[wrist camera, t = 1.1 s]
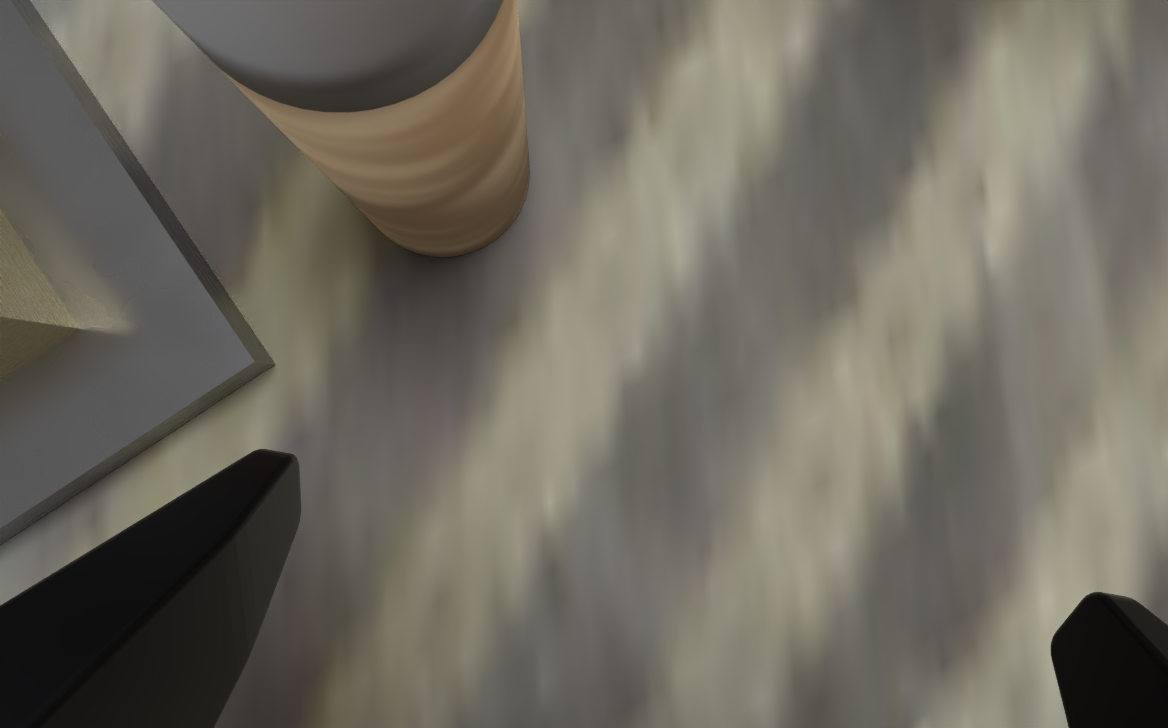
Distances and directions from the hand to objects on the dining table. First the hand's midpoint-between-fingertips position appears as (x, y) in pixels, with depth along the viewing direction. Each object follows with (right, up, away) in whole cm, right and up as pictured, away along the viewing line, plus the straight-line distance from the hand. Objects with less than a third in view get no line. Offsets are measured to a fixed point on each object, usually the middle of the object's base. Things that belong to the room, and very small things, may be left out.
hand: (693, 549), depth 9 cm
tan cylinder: (-5, +8, +13) cm, 16 cm away
